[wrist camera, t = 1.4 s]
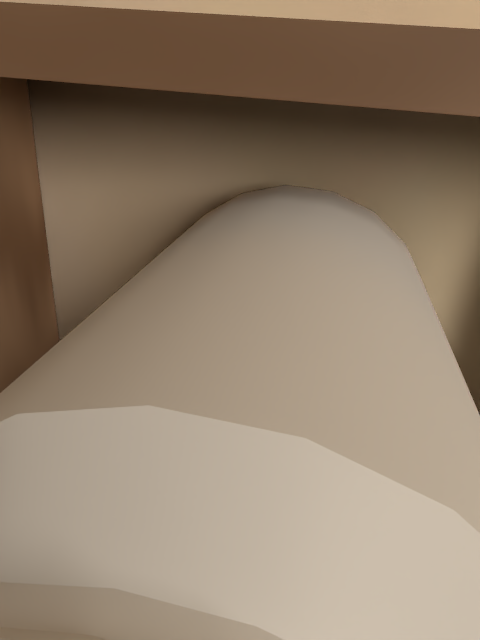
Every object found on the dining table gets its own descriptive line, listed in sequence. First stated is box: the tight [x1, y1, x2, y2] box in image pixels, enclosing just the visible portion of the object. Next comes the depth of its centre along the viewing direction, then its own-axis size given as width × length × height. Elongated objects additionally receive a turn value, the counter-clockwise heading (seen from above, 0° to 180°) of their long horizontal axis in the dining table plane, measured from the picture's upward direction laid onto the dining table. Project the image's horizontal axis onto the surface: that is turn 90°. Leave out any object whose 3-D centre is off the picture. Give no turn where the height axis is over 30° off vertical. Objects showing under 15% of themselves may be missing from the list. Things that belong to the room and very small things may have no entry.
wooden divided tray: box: [0, 2, 480, 393], centre depth 15 cm, size 25×18×4 cm
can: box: [0, 185, 480, 640], centre depth 9 cm, size 8×8×12 cm
